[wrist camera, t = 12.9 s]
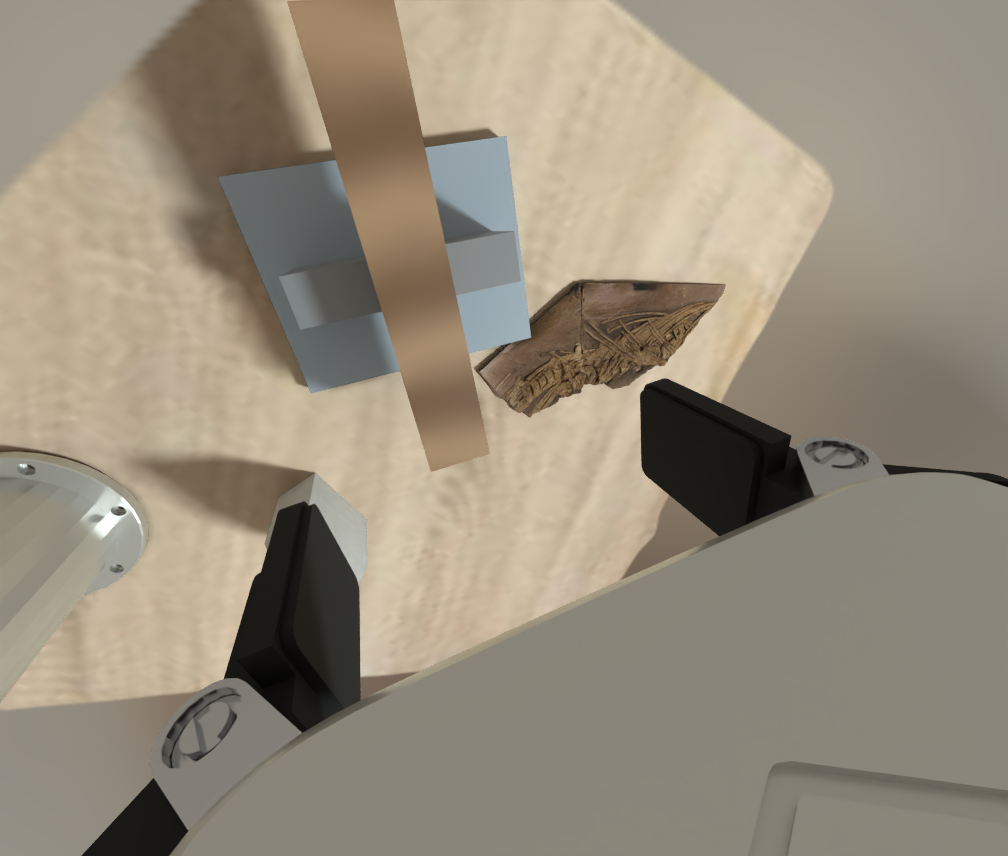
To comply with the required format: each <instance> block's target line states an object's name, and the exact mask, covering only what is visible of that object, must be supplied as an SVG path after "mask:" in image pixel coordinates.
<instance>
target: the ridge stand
mask: <svg viewBox="0 0 1008 856" xmlns="http://www.w3.org/2000/svg"><path fill="white" fill-rule="evenodd" d="M425 150H426V155H427V160H428V164H429V169H430V174H431V179H432V183H433V188H434V193H435V197H436V202H437V207H438V212H439V216H440V221H441V226H442V231H443V235H444V240H445V245H446V250H447V254H448V259H449V264H450V269H451V273H452V278H453V283H454V287H455V292H456V297H457V302H458V306H459V311H460V316H461V321H462V325H463V330H464V335H465V340H466V344H467V349H468V353H472V352H476V351H480V350H484V349H488V348H492V347H496V346H500V345H504V344H508V343H512V342H516V341H520V340H524V339H528V338H531V332H530V323H529V315H528V307H527V299H526V291H525V283H524V275H523V267H522V259H521V251H520V243H519V235H518V227H517V219H516V210H515V202H514V194H513V186H512V178H511V170H510V162H509V154H508V146H507V138H506V136H503V137H496V138H489V139H482V140H475V141H468V142H461V143H453V144H446V145H439V146H432V147H425ZM218 179H219V181H220V184H221V186H222V188H223V191H224V193H225V195H226V198H227V200H228V202H229V205H230V207H231V209H232V212H233V214H234V216H235V219H236V221H237V223H238V225H239V228H240V230H241V232H242V235H243V237H244V239H245V242H246V244H247V246H248V249H249V251H250V253H251V256H252V258H253V260H254V263H255V265H256V267H257V269H258V272H259V274H260V276H261V279H262V281H263V283H264V286H265V288H266V290H267V293H268V295H269V297H270V300H271V302H272V304H273V306H274V309H275V311H276V313H277V316H278V318H279V320H280V323H281V325H282V327H283V330H284V332H285V334H286V337H287V339H288V341H289V344H290V346H291V348H292V350H293V353H294V355H295V357H296V360H297V362H298V364H299V367H300V369H301V371H302V374H303V376H304V378H305V381H306V383H307V385H308V388H309V390H310V392H311V393H314V392H318V391H322V390H326V389H330V388H334V387H338V386H342V385H346V384H350V383H354V382H358V381H362V380H365V379H369V378H373V377H377V376H381V375H385V374H389V373H393V372H397V371H400V368H399V365H398V362H397V359H396V355H395V352H394V349H393V346H392V342H391V339H390V336H389V332H388V329H387V326H386V323H385V319H384V316H383V313H382V310H381V306H380V303H379V300H378V297H377V293H376V290H375V287H374V283H373V280H372V277H371V274H370V270H369V267H368V264H367V261H366V257H365V254H364V251H363V247H362V244H361V241H360V238H359V234H358V231H357V228H356V225H355V221H354V218H353V215H352V212H351V208H350V205H349V202H348V198H347V195H346V192H345V189H344V185H343V182H342V179H341V176H340V172H339V169H338V166H337V162H336V160H333V161H325V162H318V163H311V164H304V165H297V166H290V167H283V168H276V169H269V170H262V171H254V172H247V173H240V174H233V175H226V176H219V177H218Z"/></svg>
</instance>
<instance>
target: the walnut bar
mask: <svg viewBox="0 0 1008 856" xmlns="http://www.w3.org/2000/svg"><path fill="white" fill-rule="evenodd" d="M287 2H288V6H289V9H290V12H291V15H292V19H293V22H294V25H295V28H296V32H297V35H298V38H299V42H300V45H301V48H302V51H303V55H304V58H305V61H306V64H307V68H308V71H309V74H310V77H311V81H312V84H313V87H314V91H315V94H316V97H317V100H318V104H319V107H320V110H321V113H322V117H323V120H324V123H325V127H326V130H327V133H328V136H329V140H330V143H331V146H332V149H333V153H334V156H335V159H336V162H337V166H338V169H339V172H340V176H341V179H342V182H343V185H344V189H345V192H346V195H347V198H348V202H349V205H350V208H351V212H352V215H353V218H354V221H355V225H356V228H357V231H358V234H359V238H360V241H361V244H362V247H363V251H364V254H365V257H366V261H367V264H368V267H369V270H370V274H371V277H372V280H373V283H374V287H375V290H376V293H377V297H378V300H379V303H380V306H381V310H382V313H383V316H384V319H385V323H386V326H387V329H388V332H389V336H390V339H391V342H392V346H393V349H394V352H395V355H396V359H397V362H398V365H399V368H400V372H401V375H402V378H403V382H404V385H405V388H406V391H407V395H408V398H409V401H410V404H411V408H412V411H413V414H414V417H415V421H416V424H417V427H418V431H419V434H420V437H421V440H422V444H423V447H424V450H425V453H426V457H427V460H428V463H429V467H430V470H431V472H432V471H435V470H439V469H442V468H445V467H448V466H451V465H455V464H458V463H461V462H464V461H467V460H471V459H474V458H477V457H480V456H483V455H487V454H490V453H489V449H488V444H487V439H486V434H485V430H484V425H483V420H482V415H481V411H480V406H479V401H478V396H477V392H476V387H475V382H474V377H473V373H472V368H471V363H470V359H469V354H468V349H467V344H466V340H465V335H464V330H463V325H462V321H461V316H460V311H459V306H458V302H457V297H456V292H455V287H454V283H453V278H452V273H451V269H450V264H449V259H448V254H447V250H446V245H445V240H444V235H443V231H442V226H441V221H440V216H439V212H438V207H437V202H436V197H435V193H434V188H433V183H432V179H431V174H430V169H429V164H428V160H427V155H426V150H425V145H424V141H423V136H422V131H421V126H420V122H419V117H418V112H417V107H416V103H415V98H414V93H413V89H412V84H411V79H410V74H409V70H408V65H407V60H406V55H405V51H404V46H403V41H402V36H401V32H400V27H399V22H398V17H397V13H396V8H395V3H394V0H301V1H287Z"/></svg>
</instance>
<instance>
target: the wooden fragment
mask: <svg viewBox="0 0 1008 856" xmlns="http://www.w3.org/2000/svg"><path fill="white" fill-rule="evenodd" d="M581 284H583V292H581V291H580V290H581ZM725 286H726V285H721V284H720V285H718V284H713V285H712V284H710V285H709V284H641V283H639V284H634V283H610V284H607V283H606V284H604V283H603V284H602V283H577V284H576V285H575V286H574V287H573V288H572V290H571V291H570V293H568V294H567V295H565V296H564V297H563V298H562V299H561V300H560V301H559V302H558V303H556V304H555V305H554V306H553V307H552V308H551V309H549V310H548V311H547V312H546V313H545V314H544V315H543V316H541V317H540V318H539V319H538V320H537V321H536V322H535V323H534V324H533V325H531V326H530V332H531V338H528V339H524V340H520V341H516V342H512V343H511V344H510V345H508V346H507V347H506V348H505V349H504V351H502V352H500V353H499V354H498V355H497V356H496V357H495V358H494V359H493V360H492V361H491V362H490V363H489V364H488V365H486V367H484V368H483V369H482V370H481V371H480V372H479V371H477V372H478V373H479V374H480V375H481V377H482V378H483V379H484V380H485V382H486V383H487V384H488V386H489V387H490V389H491V390H492V392H493V393H494V395H495V396H497V397H499V398H501V399H504V400H506V401H507V402H508V403H509V404H510V405H511V407H512V408H513V410H515V411H517V412H519V413H521V412H524V413H525V414H526V415H527V416H529V417H531V416H532V414H533V413H537V412H540V410H543V409H545V408H547V407H550V406H552V405H553V404H555V403H556V402H558V400H559V398H561V397H563V398H564V397H565V396H566V397H569V396H571V395H572V394H576V393H581V389H582V387H583V384H592V385H598V384H603V383H605V384H607V385H608V386H609V387H611V388H612V389H615V388H621V387H624V386H628V385H630V383H632V382H633V381H634V380H635V379H636V378H639V377H640V376H641V375H642V374H644V373H646V372H647V370H650V369H652V368H653V367H654V366H656V365H659V366H665V364H666V363H667V362H668V359H669V358H670V356H671V355H673V354H674V353H675V352H676V350H677V349H678V348H679V347H680V346H681V345H682V344H683V343H684V341H685V338H686V337H687V336H688V335H689V334H690V333H691V331H692V330H693V329H694V328H695V327H696V326H697V325H698V322H699V320H700V319H701V318H702V317H703V316H704V315H705V314H706V313H707V312H709V311H710V310H711V309H712V307H713V306H714V305H715V304H716V302H717V301H718V299H719V298H720V297H721V296H722V294H723V293H724V289H725Z"/></svg>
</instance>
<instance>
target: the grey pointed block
mask: <svg viewBox="0 0 1008 856" xmlns="http://www.w3.org/2000/svg"><path fill="white" fill-rule="evenodd" d="M303 501H304V502H306V503H307V504H308V505H312V504H316V505H317V507H318V508H319V510H320V512H321V514H322V516H323V517H324V519H325V521H326V523H327V525H328V526H329V528H330V530H331V532H332V534H333V536H334V537H335V539H336V541H337V543H338V545H339V546H340V548H341V550H342V552H343V554H344V556H345V557H346V559H347V561H348V563H349V565H350V566H351V568H352V570H353V572H354V574H355V576H356V578H357V581H358V585H359V584H360V582H361V579H362V577H363V574H364V572H365V569H366V567H367V565H368V560H367V519H366V518H365V517H364V516H363V515H362V514H360V513H359V512H358V511H357V510H356V509H355V508H354V507H353V506H352V505H350V504H349V503H348V502H347V501H346V500H345V499H344V498H343V497H342V496H341V495H339V494H338V493H337V492H336V491H335V490H334V489H333V488H332V487H331V486H330V485H328V484H327V483H326V482H325V481H324V480H323V479H322V478H321V477H320V476H319V475H317V474H316V473H314V474H313V475H311V476H310V477H308V478H307V479H305V480H304V481H302V482H301V483H299V484H298V485H296V486H295V487H293V488H292V489H290V490H289V491H287V492H286V493H284V494H283V495H281V496H280V497H279V499H278V502H277V506H276V509H275V512H274V515H273V518H272V522H271V525H270V528H269V531H268V534H267V537H266V541H265V546H266V548H267V549H268V546H269V542H270V539H271V535H272V532H273V528H274V524H275V521H276V517H277V514H278V511H279V510H280V509H282V508H285V507H288V506H291V505H294V504H297V503H300V502H303Z"/></svg>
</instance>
